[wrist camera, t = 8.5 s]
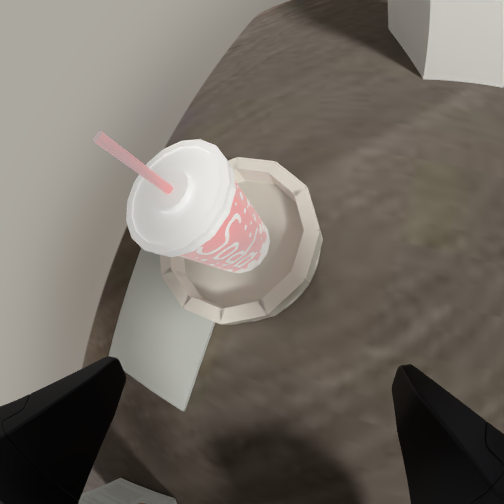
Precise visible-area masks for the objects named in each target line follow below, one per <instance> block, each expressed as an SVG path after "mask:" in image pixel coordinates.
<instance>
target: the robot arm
mask: <svg viewBox="0 0 504 504" xmlns="http://www.w3.org/2000/svg"><path fill="white" fill-rule="evenodd" d="M125 382H126V374H125V372H124V370H123V367H122V365H121V363H120V361H119V359H118V358H115V357H110V356H107V357H105V358H103V359H101V360H99V361H97V362H95V363H93V364H91V365H89V366H87V367H85V368H83V369H81V370H79V371H77V372H75V373H73V374H71V375H69V376H67V377H65V378H63V379H61V380H58V381H56V382H54V383H52V384H50V385H48V386H46V387H44V388H42V389H40V390H38V391H36V392H33V393H31V394H30V395H27V396H25V397H23V398H20V399H18V400H16V401H14V402H11V403H9V404H6V405H3V406H0V504H78V503H79V500H80V497H81V495H82V492H83V489H84V487H85V484H86V482H87V479H88V476H89V474H90V471H91V469H92V466H93V464H94V462H95V459H96V457H97V454H98V452H99V450H100V447H101V445H102V443H103V440H104V438H105V436H106V433H107V431H108V429H109V426H110V424H111V422H112V420H113V417H114V415H115V412H116V409H117V406H118V403H119V400H120V397H121V394H122V391H123V388H124V385H125ZM392 395H393V402H394V409H395V417H396V425H397V432H398V437H399V441H400V446H401V450H402V455H403V460H404V465H405V470H406V475H407V481H408V487H409V493H410V499H411V504H504V434H503V433H502V432H500V431H499V430H498V429H496V428H495V427H493V426H492V425H491V424H490V423H488V422H486V420H484V419H483V418H482V417H480V416H479V415H478V414H476V413H475V412H474V411H472V410H471V409H470V408H469V407H467V406H466V405H465V404H463V403H462V402H461V401H459V400H458V399H457V398H455V397H454V396H453V395H451V394H450V393H449V392H448V391H446V390H445V389H444V388H442V387H441V386H440V385H438V384H437V383H436V382H434V381H433V380H432V379H430V378H429V377H428V376H426V375H425V374H424V373H422V372H421V371H420V370H419V369H417V368H416V367H415V366H413V365H411V364H408V365H402V366H399V367H398V369H397V372H396V375H395V378H394V381H393V384H392Z"/></svg>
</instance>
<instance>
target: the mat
mask: <svg viewBox="0 0 504 504" xmlns="http://www.w3.org/2000/svg"><path fill="white" fill-rule="evenodd" d="M214 325H215V322H214V321H211V320H209V319H206V318H204V317H202V316H199V315H197V314H195V313H193V312H190V311H188V310H186V309H184V308H183V307H181V305H180V304H179V302H178V301H177V299H176V298H175V296H174V294H173V293H172V291H171V290H170V288H169V287H168V285H167V284H166V282H165V280H164V279H163V277H162V275H161V265H160V255H159V254H154V253H153V252H148V251H145V250H144V249H142V248H141V250H140V253H139V256H138V258H137V261H136V264H135V267H134V270H133V273H132V276H131V279H130V282H129V285H128V288H127V291H126V294H125V298H124V301H123V304H122V308H121V311H120V314H119V318H118V322H117V325H116V329H115V333H114V336H113V340H112V344H111V348H110V352H109V356H110V357H115V358H118V359H119V361H120V363H121V365H122V367H123V370H124V371H125V372H127V373H128V374H129V375H131V376H132V377H133V378H135V379H136V380H137V381H139V382H140V383H141V384H143V385H144V386H146V387H147V388H148V389H150V390H151V391H153V392H154V393H156V394H157V395H159V396H160V397H162V398H163V399H165V400H166V401H168V402H169V403H171V404H172V405H174V406H175V407H177V408H179V409H180V410H182V411H185V410H186V407H187V404H188V401H189V398H190V395H191V392H192V389H193V386H194V383H195V380H196V377H197V374H198V371H199V368H200V365H201V362H202V359H203V357H204V354H205V351H206V348H207V345H208V342H209V339H210V336H211V333H212V331H213V328H214Z"/></svg>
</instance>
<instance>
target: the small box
mask: <svg viewBox="0 0 504 504" xmlns="http://www.w3.org/2000/svg"><path fill="white" fill-rule="evenodd" d="M78 504H177V502H176V499H175V498H173V497H169V496H166V495H163V494H160V493H158V492H155V491H152V490H149V489H147V488H144V487H142V486H139V485H137V484H134V483H132V482H129V481H127V480H125V479H123V478H119V479H117V480H114V481H112V482H110V483H108V484H105V485H103V486H100V487H98V488H96V489H93V490H90V491H88V492H85V493H82V495H81V497H80V500H79V503H78Z"/></svg>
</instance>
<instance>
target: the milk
mask: <svg viewBox="0 0 504 504" xmlns="http://www.w3.org/2000/svg"><path fill="white" fill-rule="evenodd" d="M388 29H389V30H390V32H391V33H392V34H393V36H394V37H395V38H396V40H397V41H398V42H399V44H400V45H401V46H402V48H403V49H404V51H405V52H406V53H407V55H408V56H409V58H410V59H411V61H412V62H413V64H414V65H415V67H416V68H417V70H418V72H419V73H420V75H421V77H422V78H423V79H432V80H449V81H460V82H470V83H478V84H485V85H491V86H497V87H502V88H503V86H504V0H388Z"/></svg>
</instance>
